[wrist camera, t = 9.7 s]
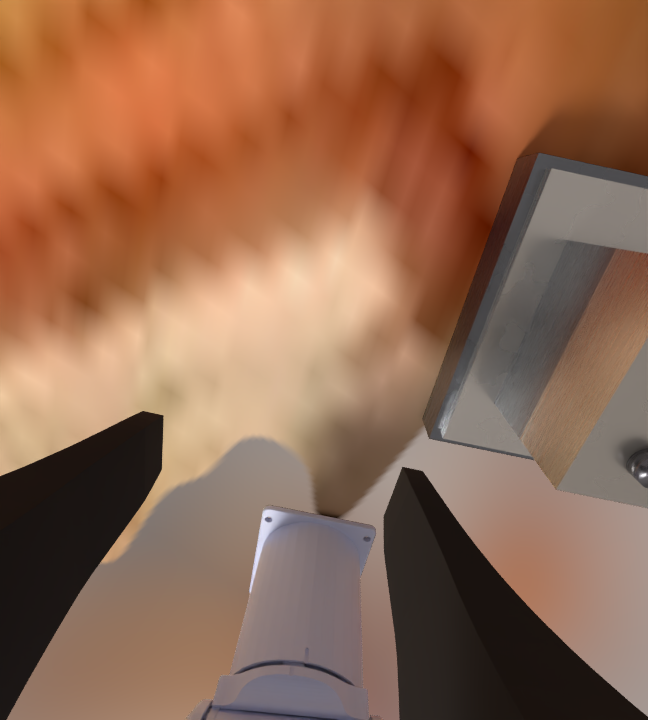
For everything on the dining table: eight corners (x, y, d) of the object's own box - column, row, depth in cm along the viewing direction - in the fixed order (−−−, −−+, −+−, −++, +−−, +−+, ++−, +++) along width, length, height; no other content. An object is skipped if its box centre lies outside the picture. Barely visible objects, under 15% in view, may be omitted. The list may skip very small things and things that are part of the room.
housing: (580, 420, 18) (693, 528, 12) (493, 403, 18) (565, 502, 12) (671, 262, 15) (888, 302, 9) (567, 239, 15) (714, 265, 9)
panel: (567, 448, 22) (592, 477, 20) (422, 418, 22) (431, 444, 19) (711, 200, 16) (771, 200, 14) (517, 158, 16) (545, 150, 14)
